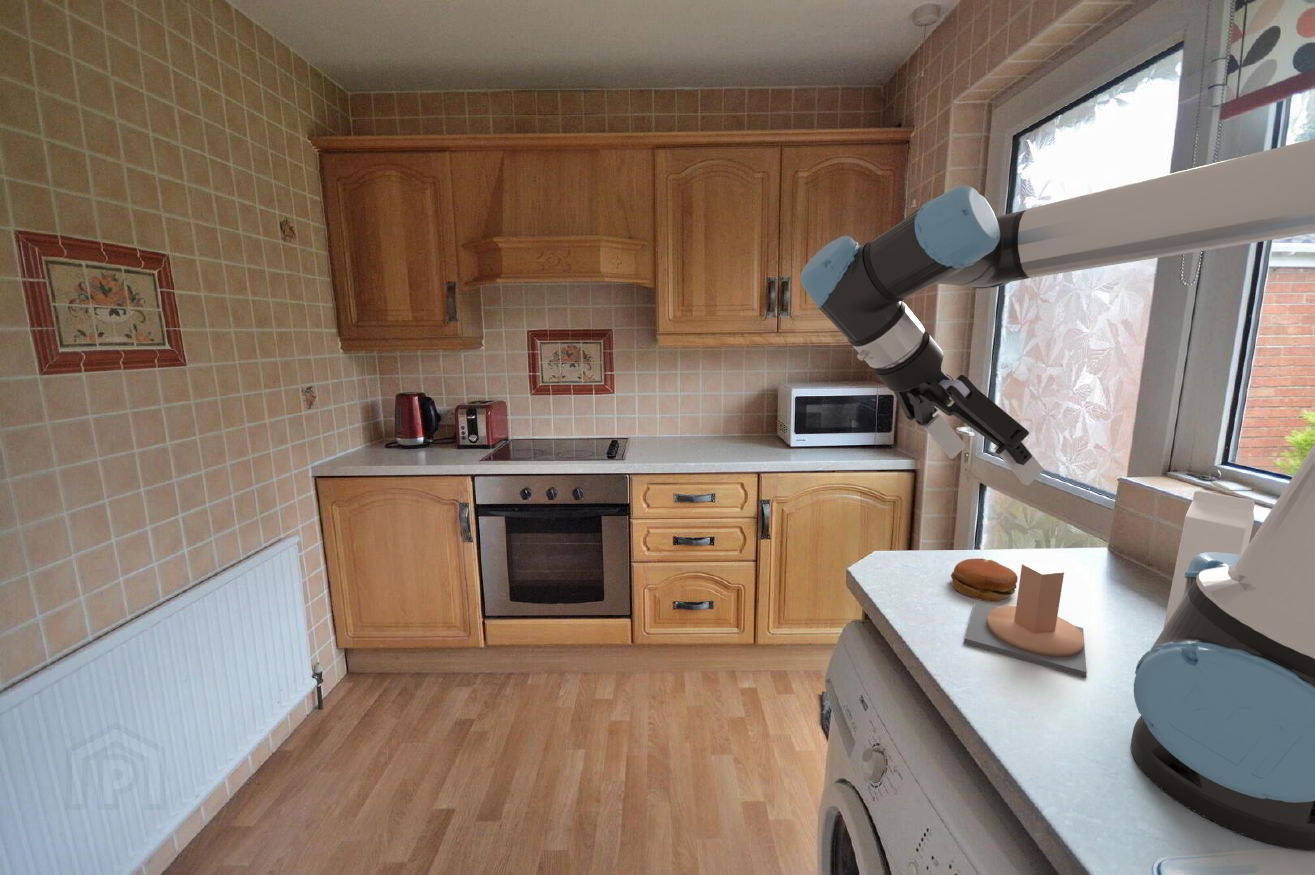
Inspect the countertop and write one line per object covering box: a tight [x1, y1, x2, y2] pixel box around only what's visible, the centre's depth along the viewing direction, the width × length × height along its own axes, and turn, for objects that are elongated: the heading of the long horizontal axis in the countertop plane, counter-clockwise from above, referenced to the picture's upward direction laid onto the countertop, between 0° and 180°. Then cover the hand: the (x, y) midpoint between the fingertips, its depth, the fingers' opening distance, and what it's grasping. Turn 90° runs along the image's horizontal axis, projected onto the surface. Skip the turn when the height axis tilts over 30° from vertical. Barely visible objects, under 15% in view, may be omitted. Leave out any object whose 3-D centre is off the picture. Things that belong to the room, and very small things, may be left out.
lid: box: [987, 561, 1085, 657], centre depth 81 cm, size 12×12×10 cm
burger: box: [950, 558, 1019, 603], centre depth 97 cm, size 10×9×5 cm
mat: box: [963, 601, 1088, 679], centre depth 82 cm, size 13×14×1 cm
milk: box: [1162, 490, 1256, 630], centre depth 79 cm, size 6×6×22 cm
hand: (992, 463), depth 75 cm, fingers open, 13 cm apart
